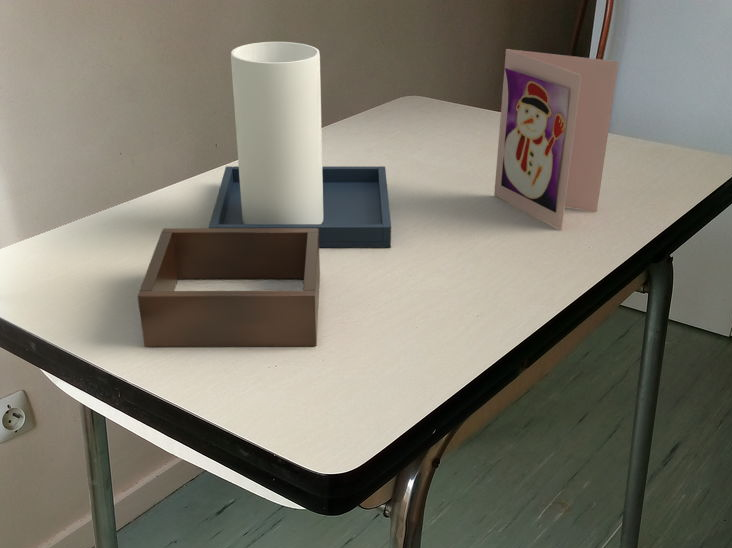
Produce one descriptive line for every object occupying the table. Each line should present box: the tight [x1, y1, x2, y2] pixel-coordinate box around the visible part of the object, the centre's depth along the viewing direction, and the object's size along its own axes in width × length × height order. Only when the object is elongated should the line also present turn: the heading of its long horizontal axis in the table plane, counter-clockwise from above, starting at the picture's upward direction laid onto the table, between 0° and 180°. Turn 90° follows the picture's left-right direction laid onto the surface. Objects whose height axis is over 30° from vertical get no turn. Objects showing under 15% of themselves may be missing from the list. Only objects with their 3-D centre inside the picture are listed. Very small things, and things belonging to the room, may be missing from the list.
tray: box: [208, 165, 392, 249], centre depth 105 cm, size 18×18×2 cm
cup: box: [230, 41, 323, 224], centre depth 98 cm, size 8×8×16 cm
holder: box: [136, 227, 321, 348], centre depth 86 cm, size 14×14×4 cm
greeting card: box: [493, 48, 620, 231], centre depth 103 cm, size 11×7×15 cm, turn 31°
